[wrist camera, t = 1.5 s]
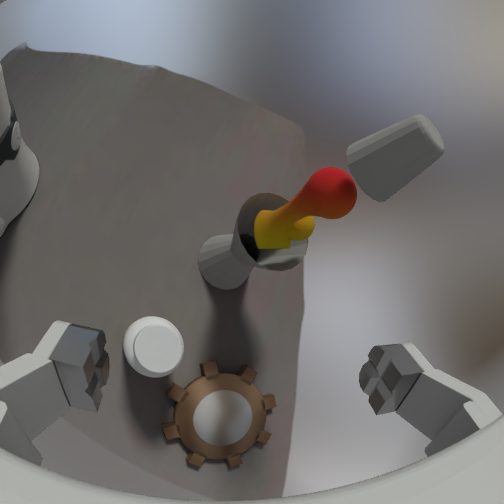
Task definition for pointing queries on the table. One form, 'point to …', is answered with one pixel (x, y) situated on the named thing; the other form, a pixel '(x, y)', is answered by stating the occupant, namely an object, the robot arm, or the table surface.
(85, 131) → the table surface
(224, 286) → the lava lamp
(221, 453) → the gear platform
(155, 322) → the supplement bottle
